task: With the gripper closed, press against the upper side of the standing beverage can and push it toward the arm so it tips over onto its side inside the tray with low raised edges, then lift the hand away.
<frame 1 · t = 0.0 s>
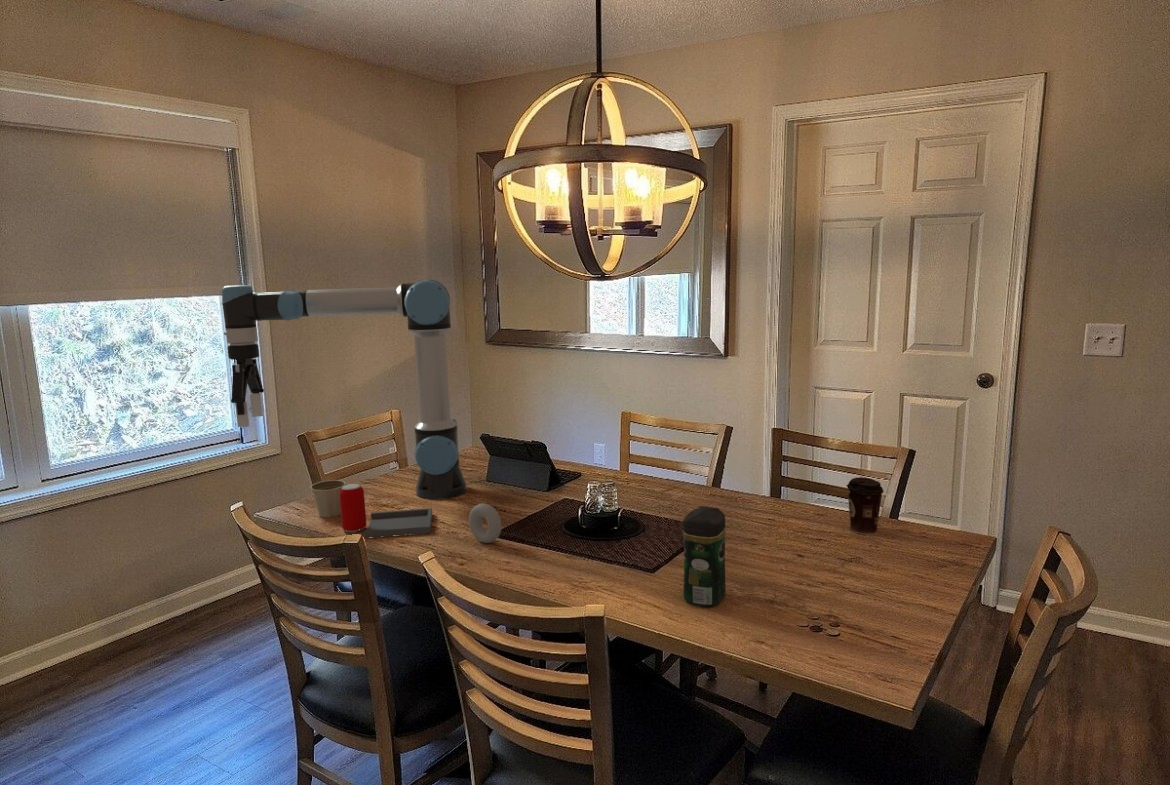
hand: (250, 421, 197), 28 cm above the table, tool pointing down, fingers open, 13 cm apart
beverage can: (354, 530, 192), on the table
coffee jar: (704, 598, 148), on the table
tray: (400, 526, 194), on the table
flower pot: (330, 515, 205), on the table
coffee cup: (862, 531, 183), on the table
donut: (485, 543, 181), on the table
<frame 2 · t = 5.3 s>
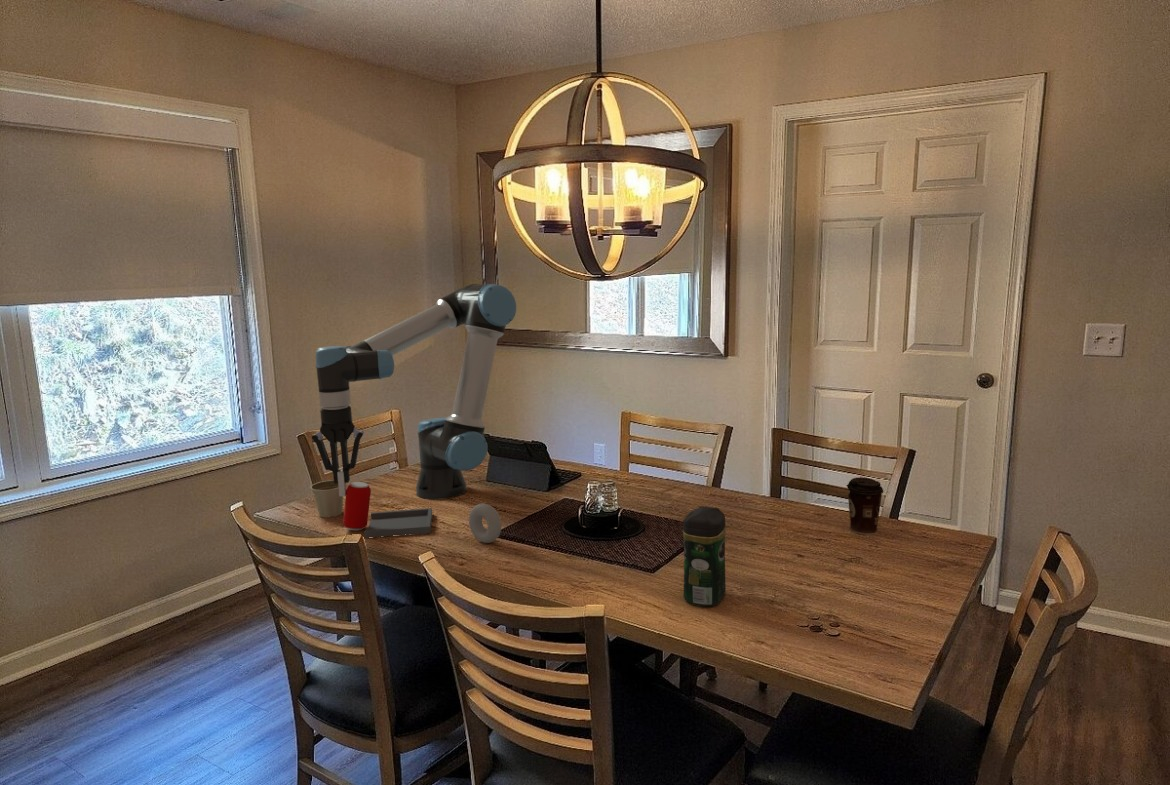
hand: (343, 494, 190), 10 cm above the table, tool pointing down, fingers closed
beverage can: (354, 528, 192), on the table, touching gripper
everything else where it was.
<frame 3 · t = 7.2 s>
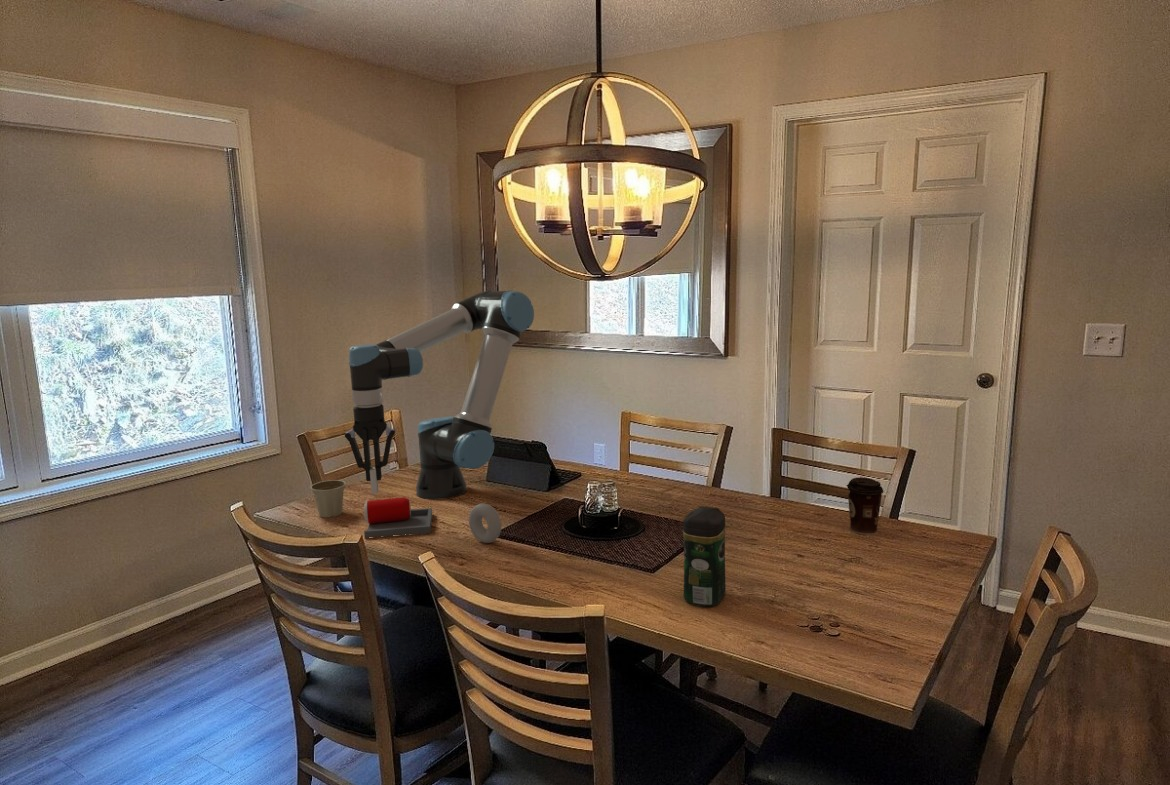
hand: (375, 492, 192), 10 cm above the table, tool pointing down, fingers closed
beverage can: (364, 512, 195), point 3 cm above the table, touching tray
everything else where it was.
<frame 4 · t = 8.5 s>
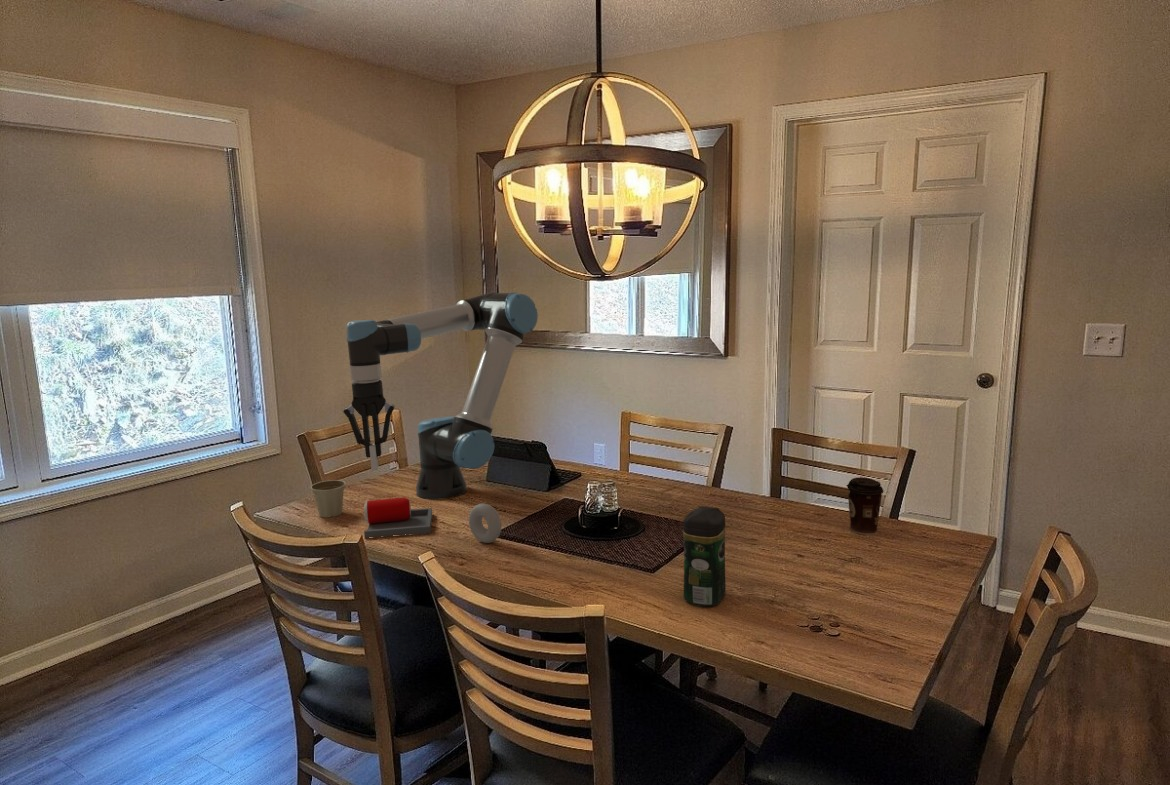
hand: (375, 468, 191), 16 cm above the table, tool pointing down, fingers closed
nothing on the table moved.
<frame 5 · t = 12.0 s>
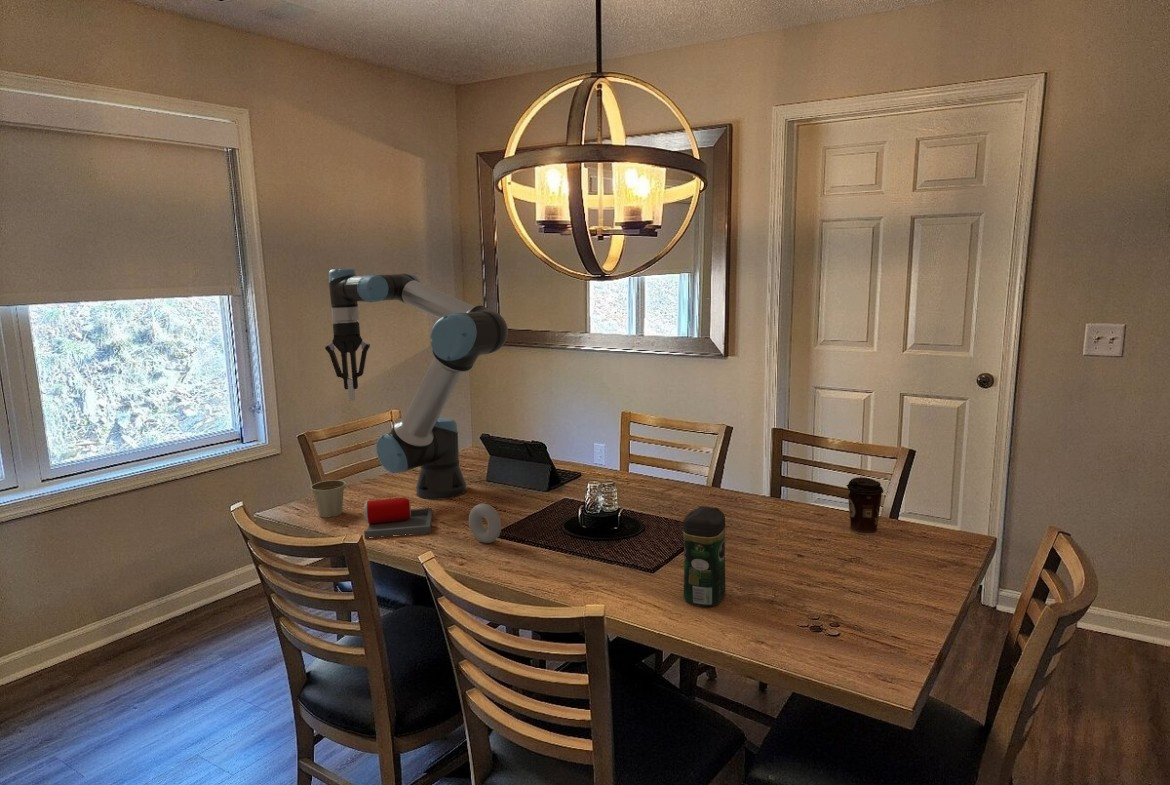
hand: (352, 399, 219), 29 cm above the table, tool pointing down, fingers closed
nothing on the table moved.
at the end: beverage can tilted 90°; beverage can touching tray; the gripper is holding nothing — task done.
